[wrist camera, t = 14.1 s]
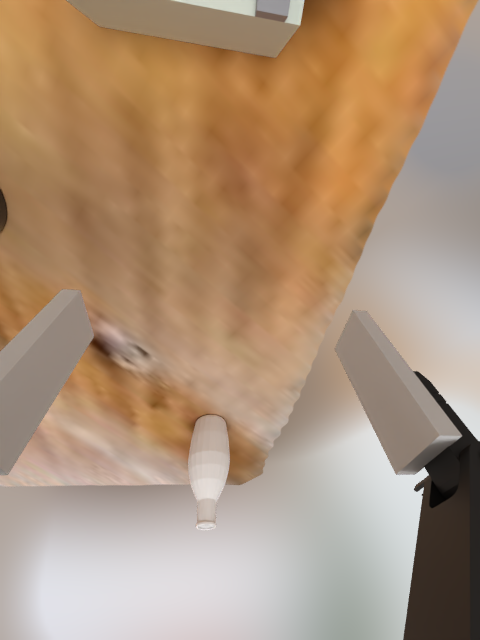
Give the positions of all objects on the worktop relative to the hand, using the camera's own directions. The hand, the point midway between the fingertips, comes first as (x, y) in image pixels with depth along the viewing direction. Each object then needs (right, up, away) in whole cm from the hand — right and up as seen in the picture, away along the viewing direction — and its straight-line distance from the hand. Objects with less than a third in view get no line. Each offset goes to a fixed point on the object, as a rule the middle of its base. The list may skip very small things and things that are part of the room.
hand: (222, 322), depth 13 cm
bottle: (-8, -31, +65) cm, 72 cm away
